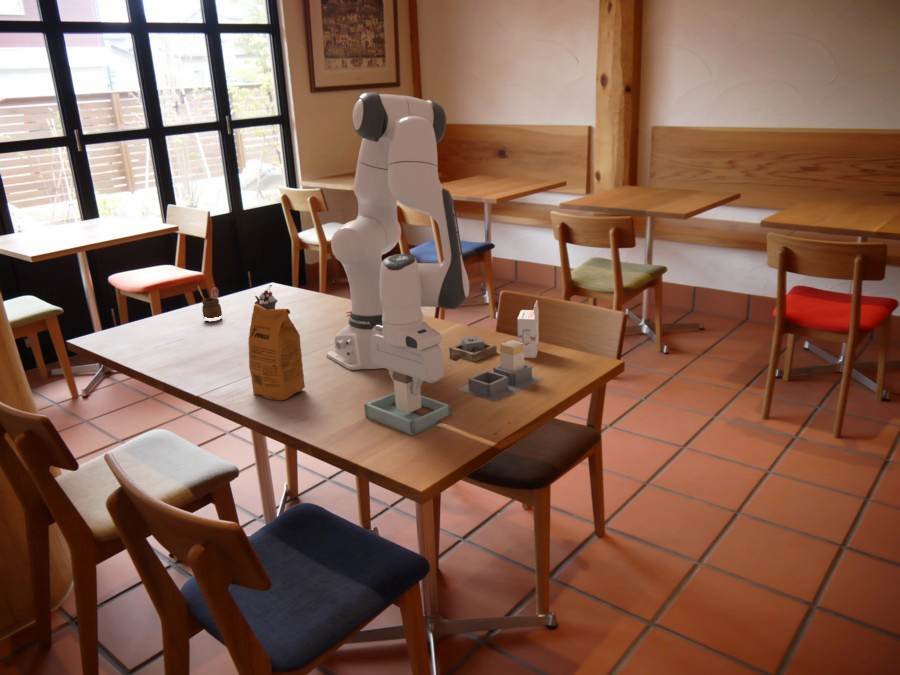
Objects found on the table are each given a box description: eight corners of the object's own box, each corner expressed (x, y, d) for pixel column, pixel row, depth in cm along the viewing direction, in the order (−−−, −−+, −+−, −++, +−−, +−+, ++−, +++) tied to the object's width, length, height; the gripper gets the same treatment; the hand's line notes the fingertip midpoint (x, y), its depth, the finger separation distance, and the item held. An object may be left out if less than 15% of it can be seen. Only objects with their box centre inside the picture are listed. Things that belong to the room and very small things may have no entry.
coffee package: (276, 381, 190) (266, 298, 183) (311, 390, 183) (302, 304, 176) (246, 394, 182) (234, 308, 175) (281, 404, 175) (270, 315, 168)
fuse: (500, 379, 182) (500, 344, 179) (511, 374, 185) (511, 340, 182) (513, 382, 179) (513, 347, 177) (524, 377, 182) (524, 343, 179)
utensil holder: (222, 321, 244) (217, 286, 240) (202, 323, 242) (196, 288, 239) (223, 316, 249) (218, 282, 245) (203, 318, 248) (198, 283, 244)
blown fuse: (395, 408, 165) (392, 371, 162) (409, 403, 167) (406, 365, 165) (408, 413, 162) (405, 375, 159) (421, 407, 165) (419, 369, 162)
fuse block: (457, 393, 177) (456, 377, 176) (505, 371, 189) (505, 356, 188) (495, 405, 169) (495, 389, 168) (543, 382, 181) (543, 367, 180)
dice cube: (462, 355, 203) (461, 338, 201) (479, 353, 204) (479, 336, 202) (466, 361, 198) (466, 343, 196) (484, 359, 199) (484, 341, 198)
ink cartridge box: (521, 350, 205) (520, 298, 200) (539, 350, 204) (538, 299, 199) (517, 360, 197) (516, 307, 192) (536, 361, 196) (535, 307, 191)
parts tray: (365, 416, 167) (364, 404, 166) (403, 400, 174) (402, 388, 173) (412, 435, 156) (412, 422, 155) (451, 417, 164) (450, 405, 163)
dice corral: (449, 358, 201) (449, 347, 200) (472, 349, 207) (471, 339, 206) (474, 365, 195) (474, 354, 194) (496, 356, 201) (496, 345, 200)
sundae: (285, 331, 231) (280, 284, 226) (269, 337, 225) (264, 289, 221) (270, 328, 234) (264, 282, 229) (254, 334, 229) (248, 287, 224)
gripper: (360, 326, 164) (365, 384, 168) (425, 344, 150) (429, 407, 155) (382, 319, 168) (386, 376, 172) (447, 336, 154) (450, 397, 159)
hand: (407, 391), depth 163 cm, fingers closed on blown fuse, 4 cm apart
